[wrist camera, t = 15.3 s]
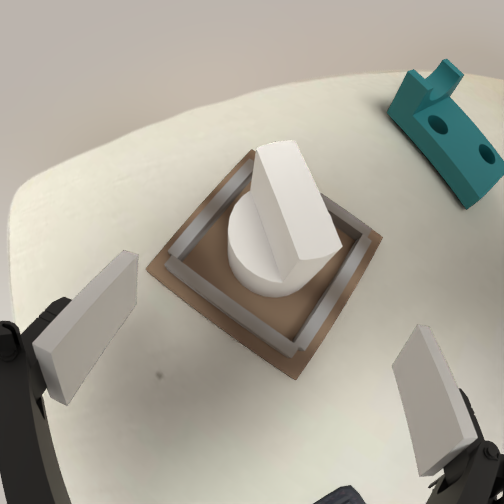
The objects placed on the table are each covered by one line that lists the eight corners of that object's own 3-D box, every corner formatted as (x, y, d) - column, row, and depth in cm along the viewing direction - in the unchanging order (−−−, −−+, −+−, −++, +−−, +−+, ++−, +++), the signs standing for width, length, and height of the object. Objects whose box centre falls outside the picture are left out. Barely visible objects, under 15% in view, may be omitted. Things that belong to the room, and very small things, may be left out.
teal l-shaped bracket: (383, 118, 42) (407, 71, 32) (422, 100, 43) (446, 58, 33) (461, 213, 38) (504, 180, 27) (491, 183, 39) (529, 151, 29)
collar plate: (251, 153, 37) (252, 138, 34) (379, 239, 34) (390, 230, 32) (147, 271, 31) (140, 263, 28) (294, 379, 29) (300, 381, 26)
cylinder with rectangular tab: (329, 282, 31) (382, 238, 20) (243, 309, 30) (253, 278, 18) (298, 203, 34) (329, 132, 23) (217, 224, 32) (213, 154, 21)
